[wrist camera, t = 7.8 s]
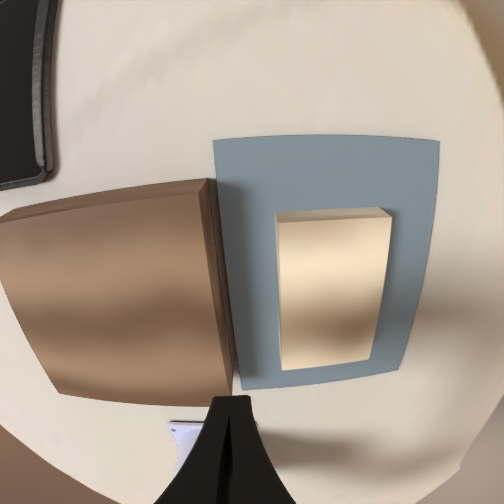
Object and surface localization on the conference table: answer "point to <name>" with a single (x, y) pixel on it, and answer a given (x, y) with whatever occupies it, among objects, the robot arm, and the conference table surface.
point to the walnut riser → (122, 293)
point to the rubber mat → (316, 198)
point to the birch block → (329, 283)
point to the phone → (25, 92)
